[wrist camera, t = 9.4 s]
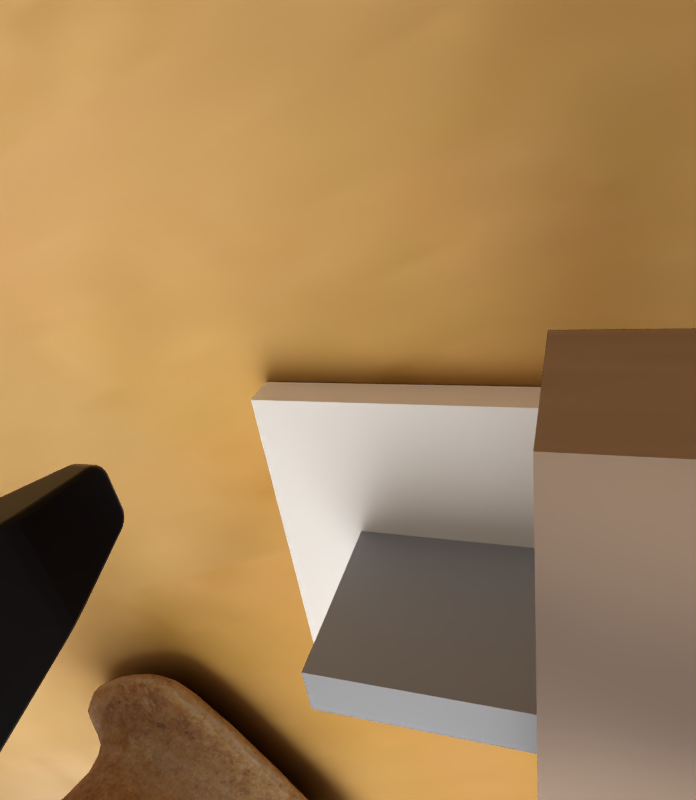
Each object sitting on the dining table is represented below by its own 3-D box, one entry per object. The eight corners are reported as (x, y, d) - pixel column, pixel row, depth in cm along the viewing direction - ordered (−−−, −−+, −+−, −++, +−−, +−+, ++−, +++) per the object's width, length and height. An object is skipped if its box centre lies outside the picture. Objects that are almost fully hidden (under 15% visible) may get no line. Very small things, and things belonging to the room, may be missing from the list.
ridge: (1143, 397, 15) (1490, 653, 9) (973, 725, 21) (1119, 1005, 15) (265, 381, 22) (154, 517, 16) (324, 626, 28) (257, 788, 22)
